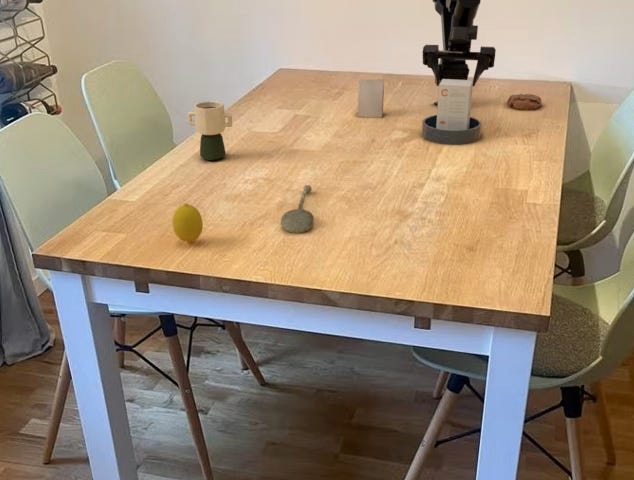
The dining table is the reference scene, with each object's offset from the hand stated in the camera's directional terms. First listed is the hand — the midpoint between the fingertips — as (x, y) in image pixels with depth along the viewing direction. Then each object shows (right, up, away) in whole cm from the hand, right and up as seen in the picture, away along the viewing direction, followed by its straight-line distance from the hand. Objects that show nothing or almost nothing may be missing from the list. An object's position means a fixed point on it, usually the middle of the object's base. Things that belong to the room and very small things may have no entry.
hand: (455, 84), depth 201 cm
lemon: (-60, -48, -54) cm, 94 cm away
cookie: (+25, +2, +26) cm, 36 cm away
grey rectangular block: (-21, -3, +19) cm, 28 cm away
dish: (-1, -13, +2) cm, 13 cm away
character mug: (-62, -22, -12) cm, 66 cm away
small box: (0, -12, +3) cm, 12 cm away
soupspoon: (-39, -40, -41) cm, 69 cm away
